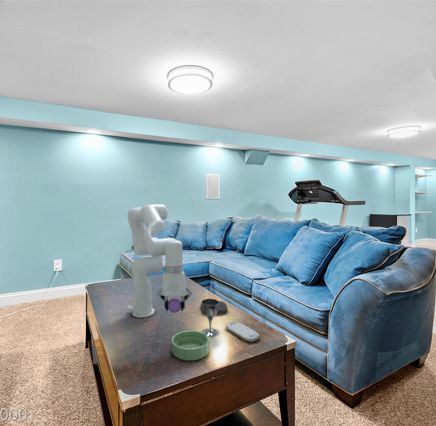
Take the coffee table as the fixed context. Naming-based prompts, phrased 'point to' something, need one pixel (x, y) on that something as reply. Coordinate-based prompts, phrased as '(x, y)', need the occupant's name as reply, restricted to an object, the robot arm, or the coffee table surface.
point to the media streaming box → (220, 308)
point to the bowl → (190, 345)
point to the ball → (174, 305)
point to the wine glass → (210, 314)
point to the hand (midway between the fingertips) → (174, 309)
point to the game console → (242, 331)
